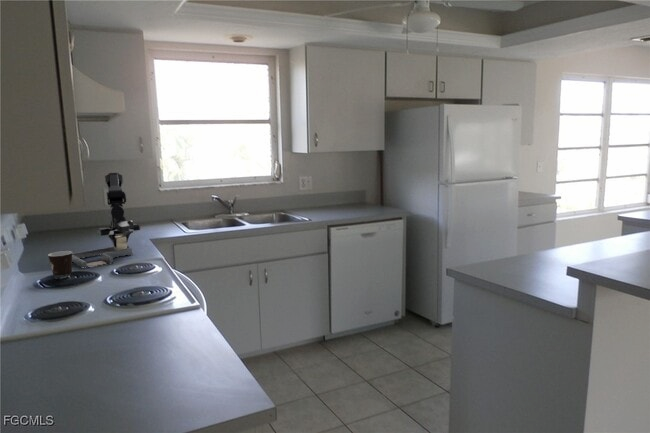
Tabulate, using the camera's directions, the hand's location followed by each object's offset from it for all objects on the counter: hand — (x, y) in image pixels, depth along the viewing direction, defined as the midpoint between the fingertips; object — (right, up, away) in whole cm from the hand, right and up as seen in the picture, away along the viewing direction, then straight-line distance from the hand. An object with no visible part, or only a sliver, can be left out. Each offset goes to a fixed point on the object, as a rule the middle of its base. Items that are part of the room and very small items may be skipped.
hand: (120, 246), depth 231 cm
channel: (-3, -5, -9) cm, 11 cm away
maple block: (0, -1, 0) cm, 1 cm away
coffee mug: (-7, -11, -39) cm, 41 cm away
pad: (-3, -7, -19) cm, 20 cm away
